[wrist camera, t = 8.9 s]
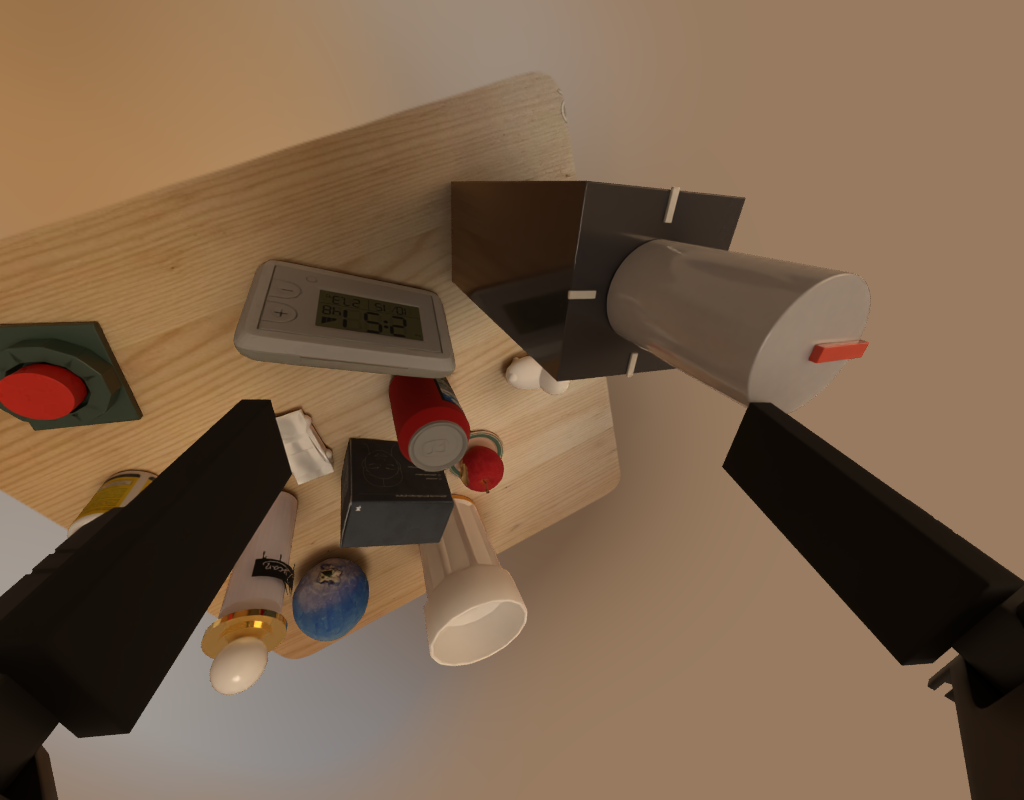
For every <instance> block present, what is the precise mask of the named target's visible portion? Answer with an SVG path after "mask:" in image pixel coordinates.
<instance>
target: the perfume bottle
mask: <svg viewBox="0 0 1024 800" xmlns="http://www.w3.org/2000/svg"><path fill="white" fill-rule="evenodd" d="M297 508H298V502H297V500H296V498H295V497H294V496H292V495H291V494H289V493H286V492H282V491H281V492H280V494H279V496H278V497H277V499H276V500H275V502H274V503H273V505H272V507H271V508H270V510H269V511H268V513H267V515H266V516H265V518H264V519H263V521H262V523H261V524H260V526H259V527H258V529H257V531H256V532H255V534H254V535H253V537H252V539H251V540H250V542H249V543H248V545H247V547H246V548H245V550H244V551H243V553H242V555H241V556H240V558H239V559H238V561H237V562H236V564H235V566H234V567H233V570H232V573H231V577H230V580H229V583H228V587H227V590H226V593H225V597H224V600H223V603H222V607H221V610H220V614H219V617H218V620H217V621H215V622H214V623H212V624H211V625H210V626H209V627H208V629H207V630H206V632H205V634H204V636H203V639H202V642H201V648H202V651H203V652H204V653H205V654H206V655H207V656H209V657H210V658H213V659H214V661H213V663H212V666H211V669H210V682H211V684H212V687H213V688H214V689H215V690H216V691H217V692H219V693H221V694H225V695H232V694H237V693H240V692H243V691H245V690H246V689H248V688H249V687H251V686H252V685H253V684H254V683H255V682H256V681H257V680H258V679H259V677H260V676H261V675H262V673H263V671H264V669H265V667H266V664H267V660H268V652H270V651H271V650H273V649H274V648H276V647H277V646H278V645H279V644H281V642H282V641H283V640H284V638H285V636H286V632H287V621H286V619H285V618H284V616H282V615H281V612H282V605H283V599H284V592H285V588H286V583H287V584H288V585H289V590H290V588H291V595H292V588H293V580H294V577H292V576H293V575H294V570H292V568H291V567H290V566H289V560H290V553H291V547H292V540H293V534H294V527H295V521H296V514H297ZM294 567H295V564H294ZM294 567H293V569H294ZM288 569H289V570H288ZM290 572H291V573H290ZM291 574H293V575H291ZM290 575H291V576H290ZM289 576H290V577H289ZM288 577H289V578H288ZM287 579H288V580H287ZM289 582H290V583H289ZM286 591H287V589H286ZM287 595H288V593H287Z"/></svg>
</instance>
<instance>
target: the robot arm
mask: <svg viewBox="0 0 1024 800" xmlns="http://www.w3.org/2000/svg"><path fill="white" fill-rule="evenodd" d="M722 467H723V468H724V469H725V470H726V472H727V473H728V474H729V475H730V476H731V477H732V478H733V479H734V480H735V481H736V483H737V484H738V485H739V486H740V487H741V488H742V489H743V490H744V491H745V493H746V494H747V495H748V496H749V497H750V498H751V499H752V500H753V501H754V502H755V504H756V505H757V506H758V507H759V508H760V509H761V510H762V511H763V513H765V515H766V516H767V517H768V518H769V519H770V520H771V521H772V522H773V524H774V525H775V526H776V527H777V528H778V529H779V530H780V531H781V532H782V533H783V534H784V536H785V537H786V538H787V539H788V540H789V541H790V542H791V543H792V545H793V546H794V547H795V548H796V549H797V550H798V551H799V552H800V553H801V554H802V555H803V557H804V558H805V559H806V560H807V561H808V562H809V563H810V564H811V566H812V567H813V568H814V569H815V570H816V571H817V572H818V573H819V574H820V576H821V577H822V578H823V579H824V580H825V581H826V582H827V583H828V584H829V586H831V588H832V589H833V590H834V591H835V592H836V593H837V594H838V595H839V597H840V598H841V599H842V600H843V601H844V602H845V603H846V604H847V605H848V607H849V608H850V609H851V610H852V611H853V612H854V613H855V614H856V615H857V616H858V618H859V619H860V620H861V621H862V622H863V623H864V624H865V625H866V626H867V628H868V629H870V631H871V632H872V633H873V634H874V635H875V636H876V638H877V639H878V640H879V641H880V642H881V643H882V644H883V645H884V646H885V647H886V649H887V650H888V651H889V652H890V653H891V654H892V655H893V656H894V657H895V659H896V660H897V661H898V662H899V663H900V664H901V665H916V664H928V663H933V662H934V661H936V660H937V659H938V658H939V657H940V656H942V655H943V654H944V653H945V652H946V651H948V650H949V649H950V648H951V647H953V648H954V649H955V650H956V651H957V652H958V653H959V655H958V656H957V657H955V658H954V659H953V660H952V661H951V662H950V663H948V664H947V665H946V666H945V667H943V668H942V669H941V670H940V671H939V672H937V673H936V674H935V675H934V676H933V677H931V678H930V679H929V682H928V687H930V688H931V689H933V690H936V689H937V688H938V687H939V686H940V685H942V684H943V683H944V682H946V683H949V684H952V686H953V689H952V690H951V691H949V692H948V693H947V694H945V697H947V698H949V699H950V700H952V701H954V702H955V704H956V710H957V715H958V722H959V728H960V734H961V740H962V746H963V751H964V757H965V763H966V769H967V774H968V780H969V786H970V793H971V799H972V800H1024V581H1023V580H1022V579H1020V578H1019V577H1017V576H1016V575H1015V574H1013V573H1012V572H1010V571H1009V570H1008V569H1006V568H1004V567H1003V566H1002V565H1000V564H999V563H998V562H996V561H995V560H993V559H992V558H991V557H989V556H988V555H986V554H985V553H983V552H982V551H981V550H979V549H978V548H976V547H975V546H973V545H972V544H971V543H969V542H968V541H967V540H965V539H964V538H962V537H961V536H959V535H958V534H955V533H954V532H953V531H952V530H951V529H949V528H948V527H947V526H945V525H944V524H943V523H941V522H940V521H938V520H936V519H934V518H933V516H931V515H930V514H928V513H927V512H926V511H924V510H923V509H921V508H920V507H918V506H917V505H916V504H914V503H913V502H911V501H910V500H908V499H906V498H905V497H903V496H902V495H901V494H899V493H898V492H896V491H895V490H894V489H892V488H891V487H889V486H888V485H887V484H885V483H884V482H882V481H881V480H879V479H878V478H876V477H875V476H874V475H872V474H871V473H870V472H868V471H867V470H865V469H864V468H862V467H861V466H860V465H858V464H857V463H855V462H854V461H853V460H851V459H850V458H848V457H847V456H846V455H844V454H843V453H841V452H840V451H839V450H837V449H836V448H834V447H833V446H831V445H830V444H829V443H827V442H826V441H824V440H823V439H822V438H820V437H819V436H817V435H816V434H815V433H813V432H812V431H810V430H809V429H807V428H806V427H805V426H803V425H802V424H800V423H799V422H798V421H796V420H795V419H793V418H792V417H791V416H789V415H788V414H786V413H785V412H784V411H782V410H781V409H779V408H778V407H776V406H775V405H774V404H772V403H771V402H750V403H749V406H748V408H747V410H746V413H745V415H744V417H743V420H742V422H741V424H740V426H739V429H738V431H737V434H736V436H735V438H734V440H733V443H732V445H731V448H730V450H729V452H728V454H727V457H726V459H725V461H724V464H723V466H722ZM291 475H292V471H291V468H290V464H289V461H288V458H287V454H286V451H285V447H284V444H283V441H282V437H281V434H280V430H279V427H278V424H277V420H276V417H275V413H274V410H273V407H272V403H271V400H241V401H240V402H239V403H237V404H236V405H235V406H234V407H233V408H232V409H231V410H230V411H229V412H228V413H227V414H225V415H224V416H223V417H222V418H221V419H220V420H219V421H218V422H217V423H216V424H215V425H213V426H212V427H211V428H210V429H209V430H208V431H207V432H206V433H205V434H204V435H203V436H201V437H200V438H199V439H198V440H197V441H196V442H195V443H194V444H193V445H192V446H190V447H189V448H188V449H187V450H186V451H185V452H184V453H183V454H182V455H181V456H180V457H178V458H177V459H176V460H175V461H174V462H173V463H172V464H171V465H170V466H169V467H168V468H166V469H165V470H164V471H163V472H162V473H161V474H160V475H159V476H158V477H157V478H156V479H154V480H153V481H152V482H151V483H150V484H149V485H148V486H147V487H146V488H145V489H144V490H142V491H141V492H140V493H139V494H138V495H137V496H136V497H135V498H134V499H133V500H132V501H130V502H129V503H128V504H127V505H126V506H125V507H114V508H112V509H111V510H109V511H107V512H105V513H104V514H102V515H100V516H99V517H97V518H95V519H94V520H92V521H90V522H88V523H87V524H85V525H83V526H82V527H80V528H79V529H78V530H77V531H76V532H75V533H74V534H72V535H71V536H70V537H69V538H68V539H67V540H65V542H63V543H62V544H61V545H60V546H59V547H57V548H56V549H55V553H54V554H49V555H48V556H47V557H46V558H45V559H43V560H42V561H41V562H40V563H39V564H38V565H37V566H35V567H34V568H33V569H32V570H33V571H32V573H31V574H27V575H25V576H24V577H23V578H22V579H20V580H19V581H18V582H17V583H16V584H15V585H13V586H12V587H11V588H10V589H9V590H8V591H6V592H5V593H4V594H3V595H2V596H1V597H0V800H58V797H57V792H56V787H55V782H54V777H53V772H52V768H51V762H50V758H49V754H48V752H47V751H46V750H45V748H44V747H43V746H42V744H43V743H44V741H45V740H46V739H47V737H48V736H49V735H50V734H51V732H52V731H53V730H54V728H55V727H56V726H57V725H58V723H59V722H60V723H61V724H62V725H63V726H65V727H66V728H67V729H68V730H69V731H71V732H72V733H73V734H74V735H75V736H76V737H78V738H83V737H93V736H105V735H116V734H127V733H130V732H131V730H132V728H133V727H134V725H135V723H136V722H137V720H138V719H139V717H140V716H141V714H142V712H143V711H144V709H145V707H146V706H147V704H148V703H149V701H150V699H151V698H152V696H153V695H154V693H155V691H156V690H157V688H158V687H159V685H160V684H161V682H162V681H163V679H164V677H165V676H166V674H167V673H168V671H169V669H170V668H171V666H172V665H173V663H174V661H175V660H176V658H177V657H178V655H179V653H180V652H181V650H182V649H183V647H184V645H185V644H186V642H187V641H188V639H189V637H190V636H191V634H192V633H193V631H194V629H195V628H196V626H197V625H198V623H199V622H200V620H201V618H202V617H203V615H204V613H205V612H206V610H207V609H208V607H209V606H210V604H211V602H212V601H213V599H214V598H215V596H216V594H217V593H218V591H219V590H220V588H221V586H222V585H223V583H224V582H225V580H226V578H227V577H228V575H229V574H230V572H231V570H232V569H233V567H234V566H235V564H236V562H237V561H238V559H239V558H240V556H241V555H242V553H243V551H244V550H245V548H246V547H247V545H248V543H249V542H250V540H251V539H252V537H253V535H254V534H255V532H256V531H257V529H258V527H259V526H260V524H261V523H262V521H263V519H264V518H265V516H266V515H267V513H268V511H269V510H270V508H271V507H272V505H273V503H274V502H275V500H276V499H277V497H278V496H279V494H280V492H281V491H282V489H283V488H284V486H285V484H286V483H287V481H288V480H289V478H290V476H291Z"/></svg>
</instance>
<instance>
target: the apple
mask: <svg viewBox="0 0 1024 800" xmlns="http://www.w3.org/2000/svg"><path fill="white" fill-rule="evenodd" d="M503 451H504V449H503V444H502V442H501V440H500V439H499V438H498V437H497V436H496V435H495V434H493V433H490V432H486V431H477V432H472V433H470V438H469V442H468V447H467V450H466V453H465V455H464V456H463V457H462V459H461V460H460V461H459V462H458V463H456V464H455V465H454V466H452V467H450V468H448V469H449V471H450V472H451V473H452V474H453V475H454V476H455V477H457V478H460V479H461V480H462V482H463V483H464V485H465V486H467V487H468V488H469V489H471V490H474V491H479V492H485V491H486V493H489V490H491V489H492V488H494V487H495V486H496V485H497V484H498V483H499V482H500V481H501V479H502V477H503V472H504V466H503V462H502V460H501V459H502V457H503Z"/></svg>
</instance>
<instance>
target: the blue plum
mask: <svg viewBox="0 0 1024 800" xmlns="http://www.w3.org/2000/svg"><path fill="white" fill-rule="evenodd" d="M327 552H329V551H327ZM368 597H369V585H368V580H367V578H366V575H365V573H364V572H363V571H362V569H361V568H360V567H359V566H358V565H356V564H355V563H353V562H351V561H349V560H345V559H341V558H330V559H327V560H325V561H322V562H320V563H319V564H317V565H315V566H314V567H313V568H312V569H311V570H310V571H309V572H308V573H306V574H305V575H304V577H303V578H302V580H301V581H300V583H299V584H298V586H297V588H296V590H295V592H294V595H293V615H294V619H295V621H296V623H297V625H298V627H299V628H300V629H301V630H302V631H303V632H304V633H305V634H306V635H307V636H309V637H311V638H313V639H315V640H319V641H332V640H336V639H338V638H340V637H342V636H344V635H345V634H346V633H348V632H349V631H350V630H351V629H352V628H353V627H354V626H355V625H356V624H357V623H358V621H359V620H360V619H361V617H362V616H363V614H364V613H365V610H366V607H367V603H368Z"/></svg>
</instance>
